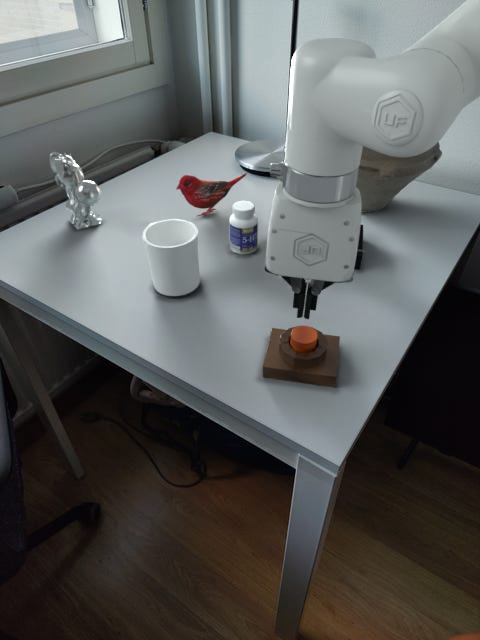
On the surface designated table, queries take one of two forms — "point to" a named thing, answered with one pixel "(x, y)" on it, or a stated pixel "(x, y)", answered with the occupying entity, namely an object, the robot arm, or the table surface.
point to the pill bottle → (243, 228)
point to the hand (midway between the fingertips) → (304, 311)
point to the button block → (302, 359)
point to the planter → (389, 175)
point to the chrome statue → (76, 190)
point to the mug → (173, 257)
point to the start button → (303, 339)
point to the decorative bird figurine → (205, 191)
